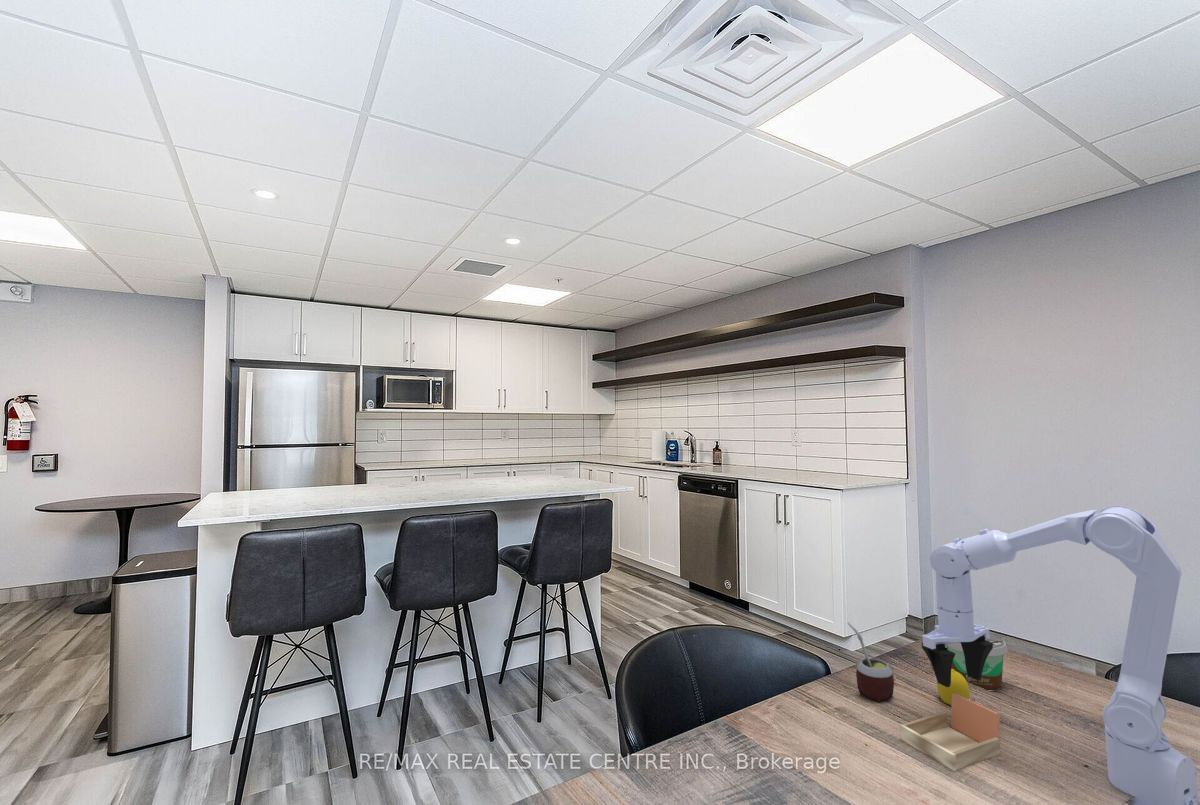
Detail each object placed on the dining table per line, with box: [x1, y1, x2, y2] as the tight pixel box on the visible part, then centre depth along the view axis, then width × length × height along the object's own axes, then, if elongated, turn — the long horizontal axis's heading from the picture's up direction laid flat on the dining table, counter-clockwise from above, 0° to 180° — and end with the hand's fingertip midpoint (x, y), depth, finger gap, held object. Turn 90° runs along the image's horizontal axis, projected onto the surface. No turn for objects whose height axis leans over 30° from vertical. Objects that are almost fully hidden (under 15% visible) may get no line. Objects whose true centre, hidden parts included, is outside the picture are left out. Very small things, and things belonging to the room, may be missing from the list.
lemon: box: [936, 669, 971, 706], centre depth 111 cm, size 6×6×8 cm
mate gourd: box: [846, 622, 895, 703], centre depth 116 cm, size 8×8×15 cm
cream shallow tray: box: [899, 710, 1001, 772], centre depth 96 cm, size 10×11×4 cm
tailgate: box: [950, 693, 1001, 743], centre depth 99 cm, size 1×8×6 cm, turn 21°
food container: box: [945, 637, 1008, 691], centre depth 120 cm, size 12×6×10 cm, turn 73°
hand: (959, 681), depth 103 cm, fingers open, 7 cm apart
